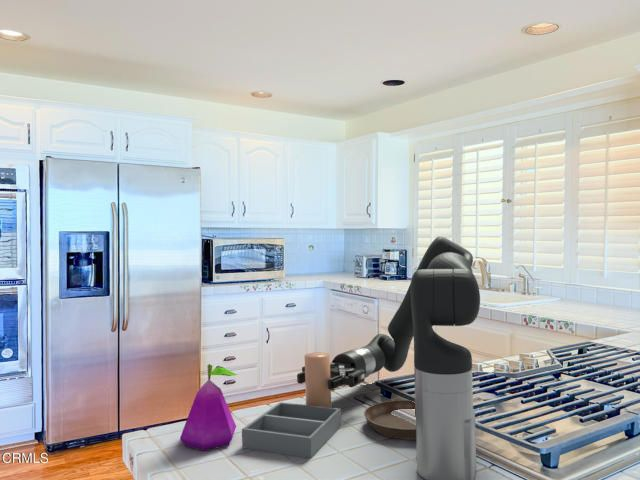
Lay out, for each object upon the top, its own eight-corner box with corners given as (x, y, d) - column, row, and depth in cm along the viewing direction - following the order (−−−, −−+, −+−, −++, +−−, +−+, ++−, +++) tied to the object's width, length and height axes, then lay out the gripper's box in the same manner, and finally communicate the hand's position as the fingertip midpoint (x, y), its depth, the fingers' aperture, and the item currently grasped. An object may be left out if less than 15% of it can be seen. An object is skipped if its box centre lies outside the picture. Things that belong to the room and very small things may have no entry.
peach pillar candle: (335, 411, 113) (333, 353, 113) (326, 419, 108) (324, 359, 107) (312, 408, 115) (310, 351, 115) (302, 417, 110) (300, 357, 110)
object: (362, 412, 112) (362, 399, 112) (442, 411, 111) (442, 398, 111) (366, 445, 94) (366, 429, 94) (462, 444, 94) (461, 428, 94)
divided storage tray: (341, 425, 104) (340, 408, 104) (311, 457, 89) (310, 438, 89) (280, 418, 109) (279, 402, 109) (242, 447, 94) (241, 429, 94)
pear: (224, 454, 92) (222, 372, 91) (169, 451, 94) (167, 370, 94) (245, 431, 103) (243, 357, 102) (195, 428, 105) (193, 356, 105)
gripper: (329, 347, 127) (288, 360, 114) (379, 353, 119) (339, 369, 106) (330, 376, 127) (289, 393, 114) (379, 385, 119) (340, 404, 106)
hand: (313, 381), depth 110 cm, fingers open, 8 cm apart
